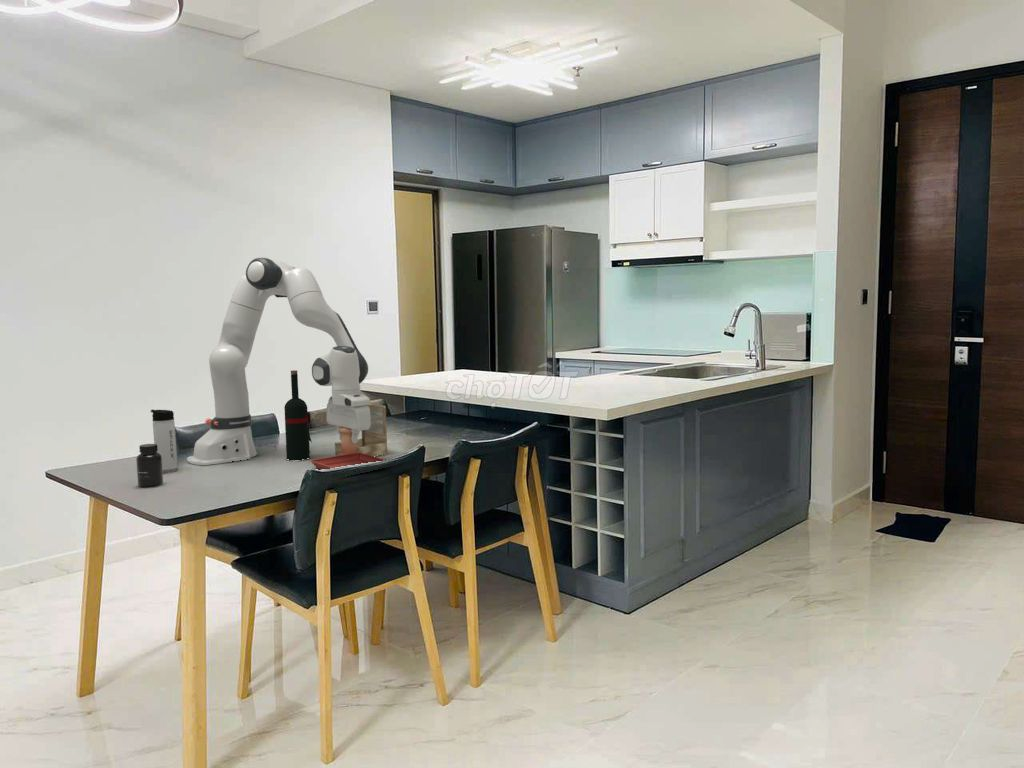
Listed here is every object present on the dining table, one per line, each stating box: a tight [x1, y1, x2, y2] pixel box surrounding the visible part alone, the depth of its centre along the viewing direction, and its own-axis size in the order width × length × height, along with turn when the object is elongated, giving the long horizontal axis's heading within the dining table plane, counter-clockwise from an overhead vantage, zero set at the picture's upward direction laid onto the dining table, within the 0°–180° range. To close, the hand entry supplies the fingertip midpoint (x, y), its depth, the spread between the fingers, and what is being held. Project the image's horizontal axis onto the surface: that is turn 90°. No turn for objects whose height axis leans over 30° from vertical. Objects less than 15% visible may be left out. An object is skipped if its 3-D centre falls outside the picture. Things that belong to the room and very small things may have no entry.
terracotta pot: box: [339, 427, 357, 454], centre depth 242 cm, size 6×6×8 cm
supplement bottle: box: [136, 443, 164, 488], centre depth 226 cm, size 7×7×12 cm
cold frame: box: [334, 403, 388, 457], centre depth 264 cm, size 12×14×17 cm
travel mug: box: [150, 409, 179, 474], centre depth 243 cm, size 6×7×20 cm
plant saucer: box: [310, 453, 385, 470], centre depth 243 cm, size 18×18×3 cm
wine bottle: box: [284, 370, 313, 460], centre depth 259 cm, size 8×10×30 cm
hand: (348, 441), depth 242 cm, fingers closed on terracotta pot, 5 cm apart
